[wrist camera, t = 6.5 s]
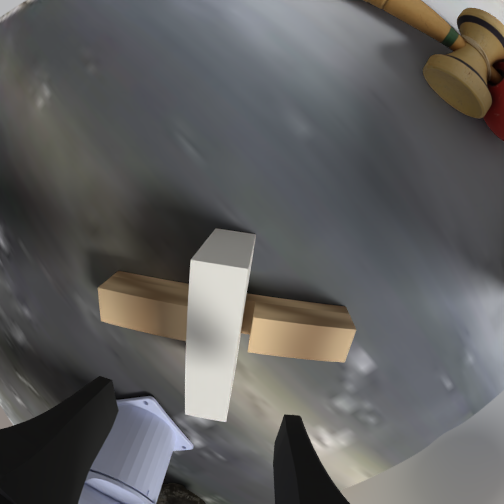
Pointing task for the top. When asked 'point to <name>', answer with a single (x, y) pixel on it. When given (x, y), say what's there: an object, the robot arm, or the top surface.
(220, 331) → the white flat block
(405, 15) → the kendama
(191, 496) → the hollow geode rock
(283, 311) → the wooden bar
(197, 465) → the top surface
